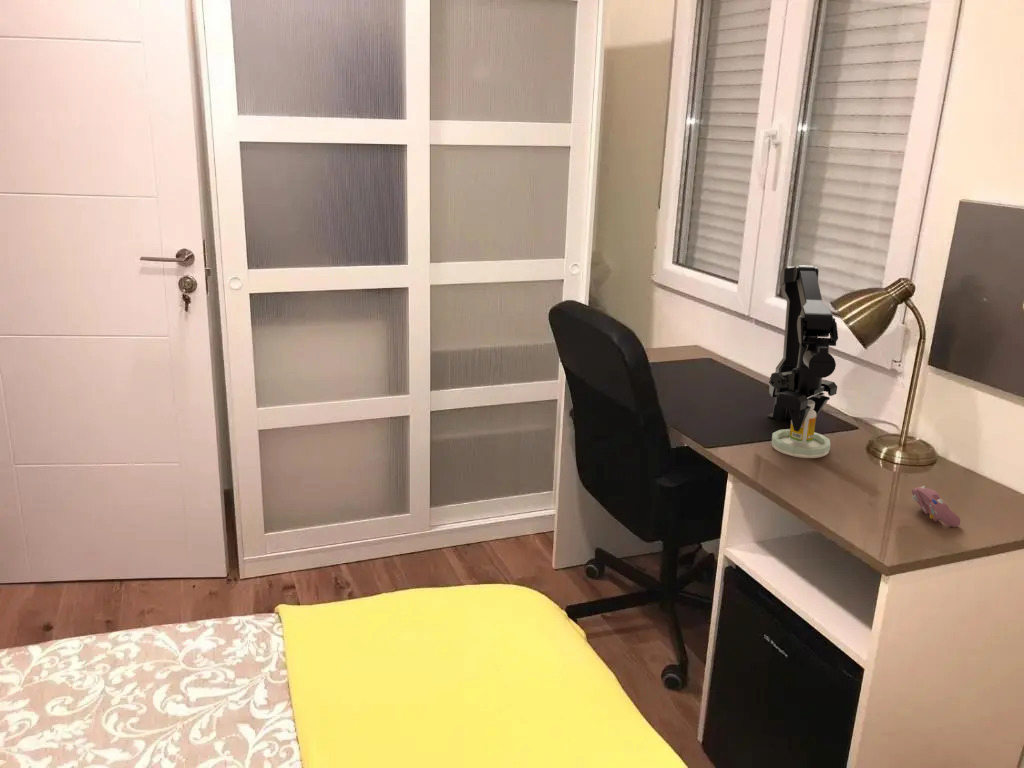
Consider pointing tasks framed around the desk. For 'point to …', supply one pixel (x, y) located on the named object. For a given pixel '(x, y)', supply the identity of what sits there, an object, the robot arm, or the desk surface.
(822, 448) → the round dish
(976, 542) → the desk surface
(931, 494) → the video game controller
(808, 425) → the supplement bottle
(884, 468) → the desk surface
